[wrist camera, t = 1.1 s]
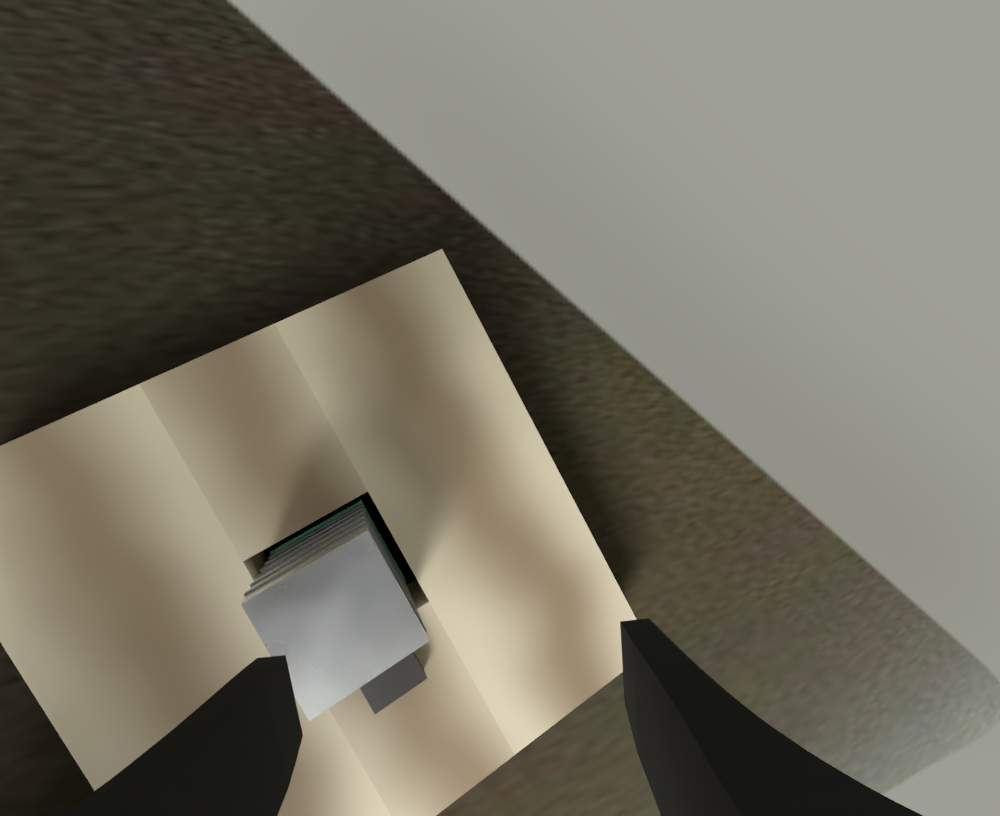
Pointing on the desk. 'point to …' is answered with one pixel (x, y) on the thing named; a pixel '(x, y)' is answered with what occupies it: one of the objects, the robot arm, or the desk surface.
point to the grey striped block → (334, 608)
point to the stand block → (290, 507)
